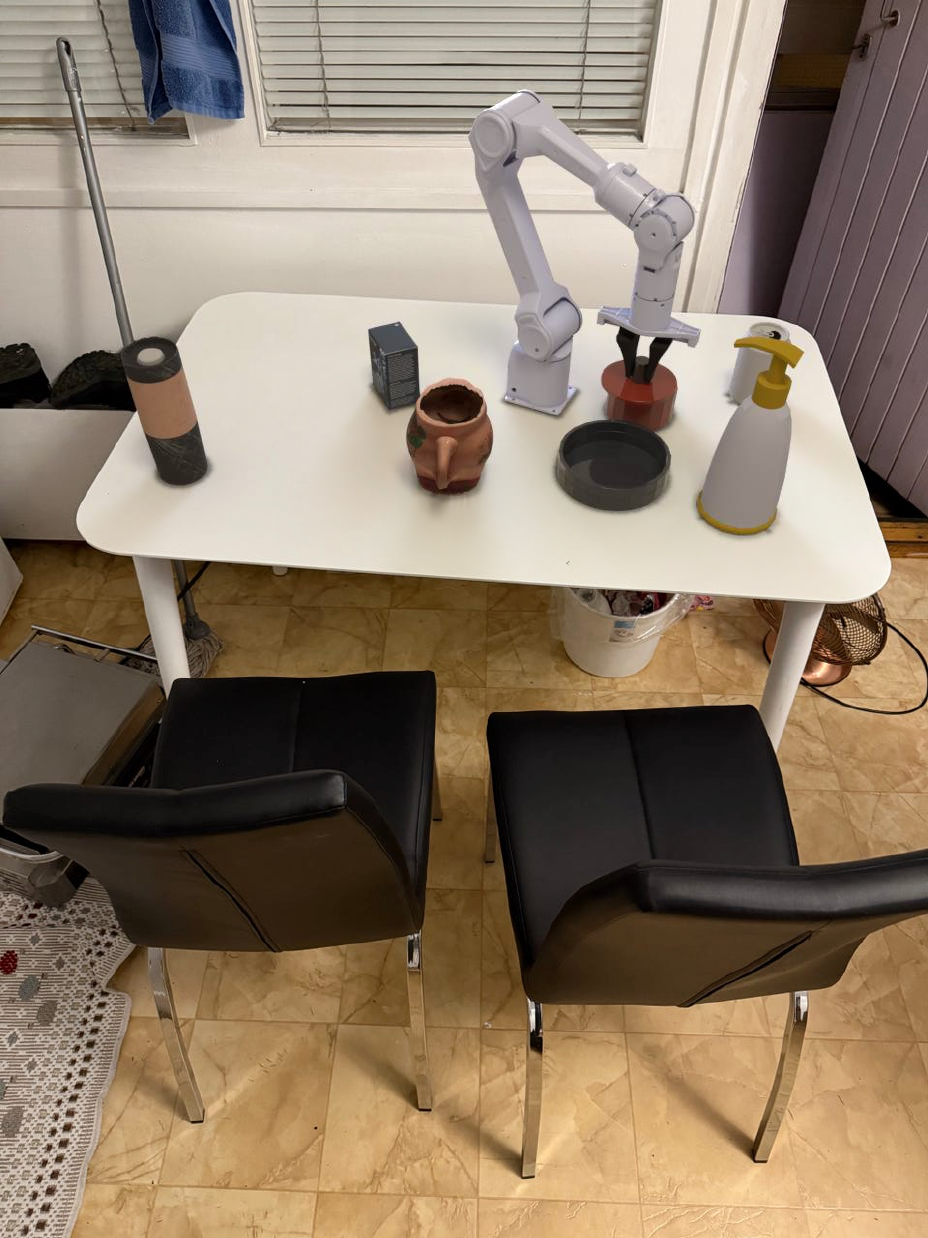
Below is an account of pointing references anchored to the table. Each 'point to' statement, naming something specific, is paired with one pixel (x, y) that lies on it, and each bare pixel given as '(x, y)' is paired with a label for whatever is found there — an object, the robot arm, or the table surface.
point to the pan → (613, 464)
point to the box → (394, 365)
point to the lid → (638, 382)
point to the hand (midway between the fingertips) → (639, 376)
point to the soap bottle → (753, 449)
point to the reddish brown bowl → (642, 412)
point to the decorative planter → (449, 437)
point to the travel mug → (165, 409)
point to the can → (754, 359)
